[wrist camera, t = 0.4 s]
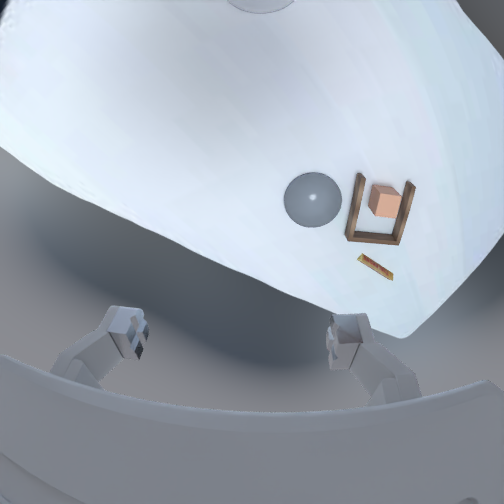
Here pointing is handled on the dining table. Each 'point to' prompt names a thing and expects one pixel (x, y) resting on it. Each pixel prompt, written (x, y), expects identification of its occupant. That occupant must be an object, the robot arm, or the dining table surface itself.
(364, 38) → the dining table surface
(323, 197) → the plate
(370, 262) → the chocolate bar
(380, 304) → the dining table surface
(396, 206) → the block
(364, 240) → the wooden u-shaped frame
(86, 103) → the dining table surface
